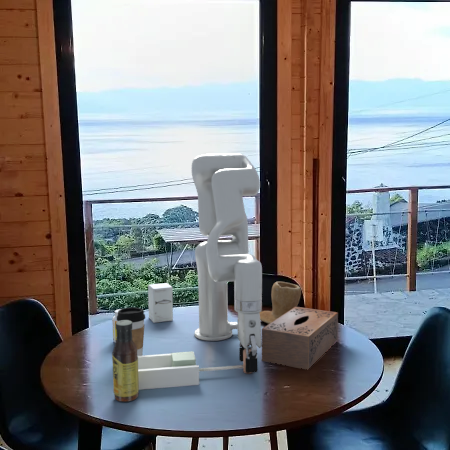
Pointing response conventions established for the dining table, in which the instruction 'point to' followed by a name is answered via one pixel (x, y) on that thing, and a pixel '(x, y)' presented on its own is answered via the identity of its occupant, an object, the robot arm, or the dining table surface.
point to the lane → (164, 372)
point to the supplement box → (160, 302)
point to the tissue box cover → (299, 337)
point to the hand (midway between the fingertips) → (248, 366)
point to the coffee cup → (134, 325)
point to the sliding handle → (189, 360)
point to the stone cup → (281, 301)
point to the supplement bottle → (115, 325)
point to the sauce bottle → (125, 364)
